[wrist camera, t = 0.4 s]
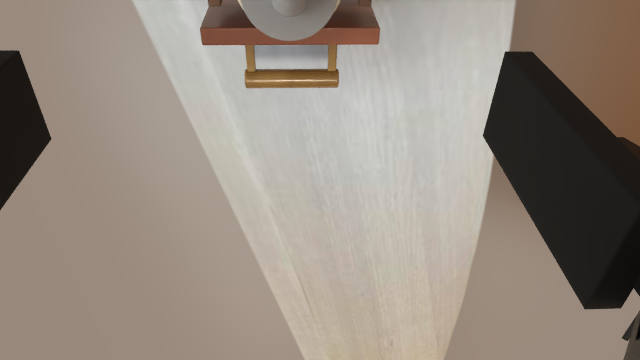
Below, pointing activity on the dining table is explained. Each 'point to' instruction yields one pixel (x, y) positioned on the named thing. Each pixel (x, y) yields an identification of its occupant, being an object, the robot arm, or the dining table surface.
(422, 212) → the dining table surface
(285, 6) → the pepper mill
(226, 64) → the dining table surface
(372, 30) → the drawer
